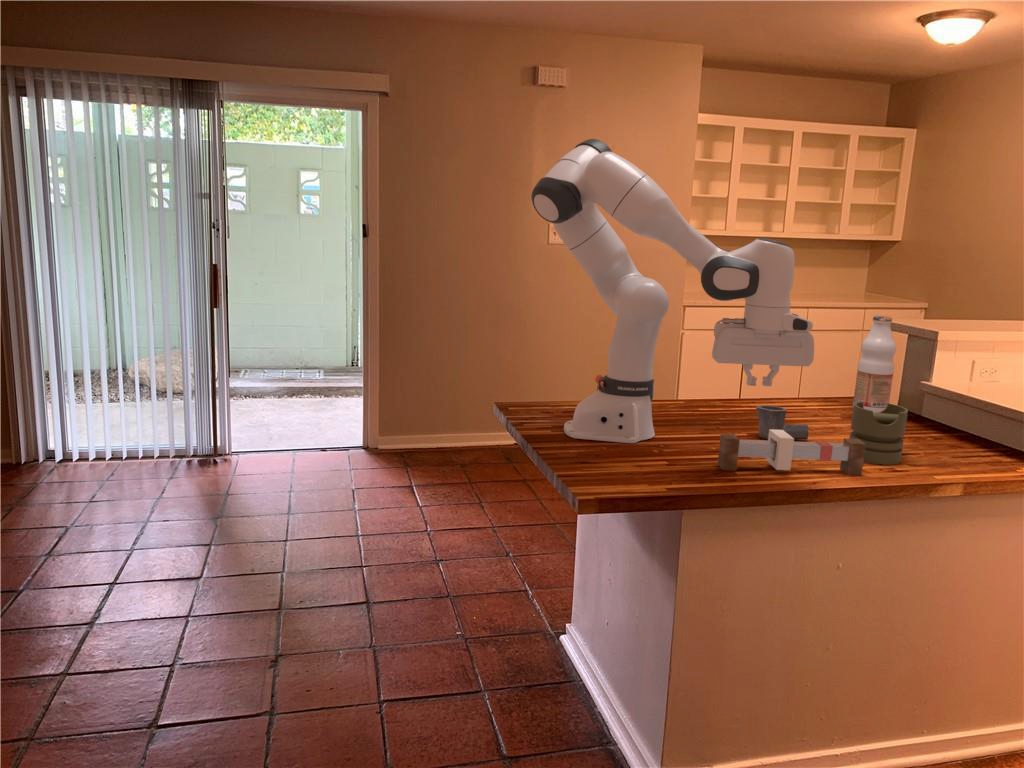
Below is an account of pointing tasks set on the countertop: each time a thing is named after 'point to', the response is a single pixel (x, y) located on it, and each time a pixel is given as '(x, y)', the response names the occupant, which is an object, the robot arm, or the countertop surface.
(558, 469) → the countertop surface
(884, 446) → the piston
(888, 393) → the fruit juice
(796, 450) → the steel rail
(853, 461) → the posts
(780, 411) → the pipe
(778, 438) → the collar
